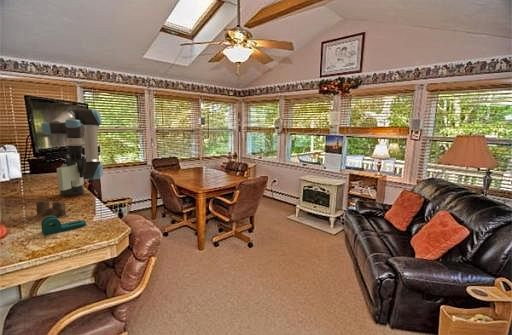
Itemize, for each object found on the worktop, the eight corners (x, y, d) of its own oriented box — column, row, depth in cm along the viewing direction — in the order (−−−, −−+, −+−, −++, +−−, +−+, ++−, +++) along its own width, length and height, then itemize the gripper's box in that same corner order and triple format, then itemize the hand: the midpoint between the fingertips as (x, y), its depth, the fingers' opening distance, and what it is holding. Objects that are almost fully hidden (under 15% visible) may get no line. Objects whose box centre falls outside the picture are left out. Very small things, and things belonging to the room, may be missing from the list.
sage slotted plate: (63, 190, 152) (61, 168, 150) (58, 190, 153) (56, 168, 151) (83, 184, 168) (82, 164, 166) (79, 184, 168) (77, 164, 166)
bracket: (44, 236, 126) (42, 220, 124) (42, 232, 130) (40, 217, 129) (87, 226, 139) (86, 212, 137) (84, 223, 143) (82, 209, 142)
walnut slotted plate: (37, 214, 153) (35, 201, 152) (41, 213, 155) (39, 200, 154) (62, 216, 151) (60, 203, 150) (65, 215, 154) (64, 202, 152)
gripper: (57, 145, 158) (61, 183, 162) (82, 145, 157) (85, 184, 160) (67, 144, 166) (70, 180, 169) (91, 145, 164) (94, 181, 168)
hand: (77, 182), depth 165 cm, fingers closed on sage slotted plate, 3 cm apart
